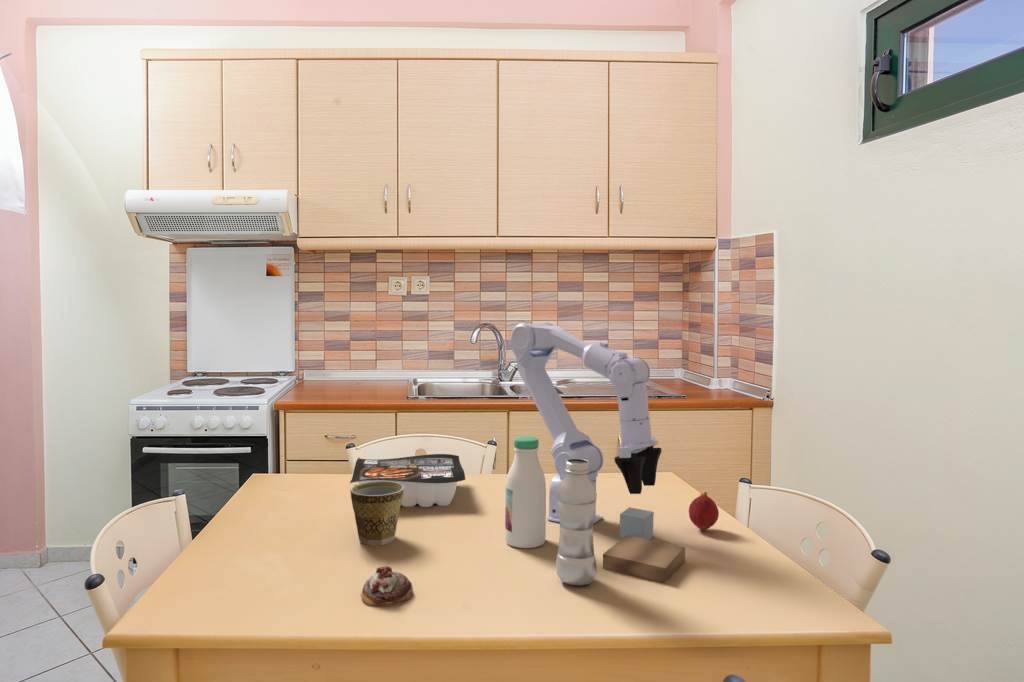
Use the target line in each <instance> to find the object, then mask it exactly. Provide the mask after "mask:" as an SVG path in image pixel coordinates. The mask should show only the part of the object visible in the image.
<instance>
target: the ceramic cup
mask: <svg viewBox="0 0 1024 682" xmlns="http://www.w3.org/2000/svg"><path fill="white" fill-rule="evenodd" d="M403 490H404V487H403V485H401V484H399V483H396V482H389V481H373V482H366V483H361V484H359V483H358V484H354V485H353V486H352V487H351V488H350V490H349V491H350V499H351V505H352V509H353V513H354V520H355V525H356V530H357V537H358V540H359V542H361V543H362V544H365V545H366V546H384V545H387V544H390V543H393V541H394V539H395V537H396V533H397V527H398V526H397V525H398V520H399V516H400V515H399V513H400V509H401V506H402V505H401V502H402V497H403Z"/></svg>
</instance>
